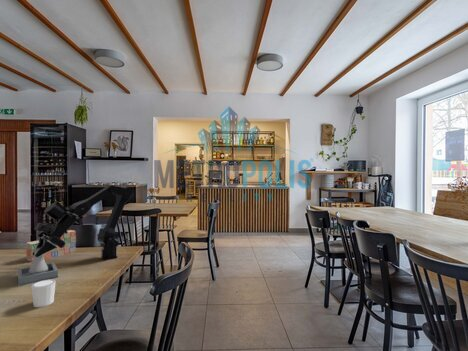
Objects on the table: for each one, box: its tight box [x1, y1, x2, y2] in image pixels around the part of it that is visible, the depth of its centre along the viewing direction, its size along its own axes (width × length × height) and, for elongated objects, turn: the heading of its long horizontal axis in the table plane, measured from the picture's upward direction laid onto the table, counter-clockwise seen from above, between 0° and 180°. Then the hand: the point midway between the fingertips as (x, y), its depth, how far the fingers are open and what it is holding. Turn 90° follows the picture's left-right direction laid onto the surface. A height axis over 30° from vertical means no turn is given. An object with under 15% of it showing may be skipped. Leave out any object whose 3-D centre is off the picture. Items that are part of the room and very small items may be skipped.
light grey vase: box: [28, 248, 48, 274], centre depth 112 cm, size 7×7×10 cm
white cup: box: [31, 278, 56, 308], centre depth 90 cm, size 7×7×7 cm
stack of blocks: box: [26, 229, 77, 263], centre depth 141 cm, size 21×6×12 cm, turn 145°
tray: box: [17, 261, 59, 287], centre depth 112 cm, size 13×13×3 cm
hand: (34, 255), depth 111 cm, fingers closed on light grey vase, 3 cm apart
